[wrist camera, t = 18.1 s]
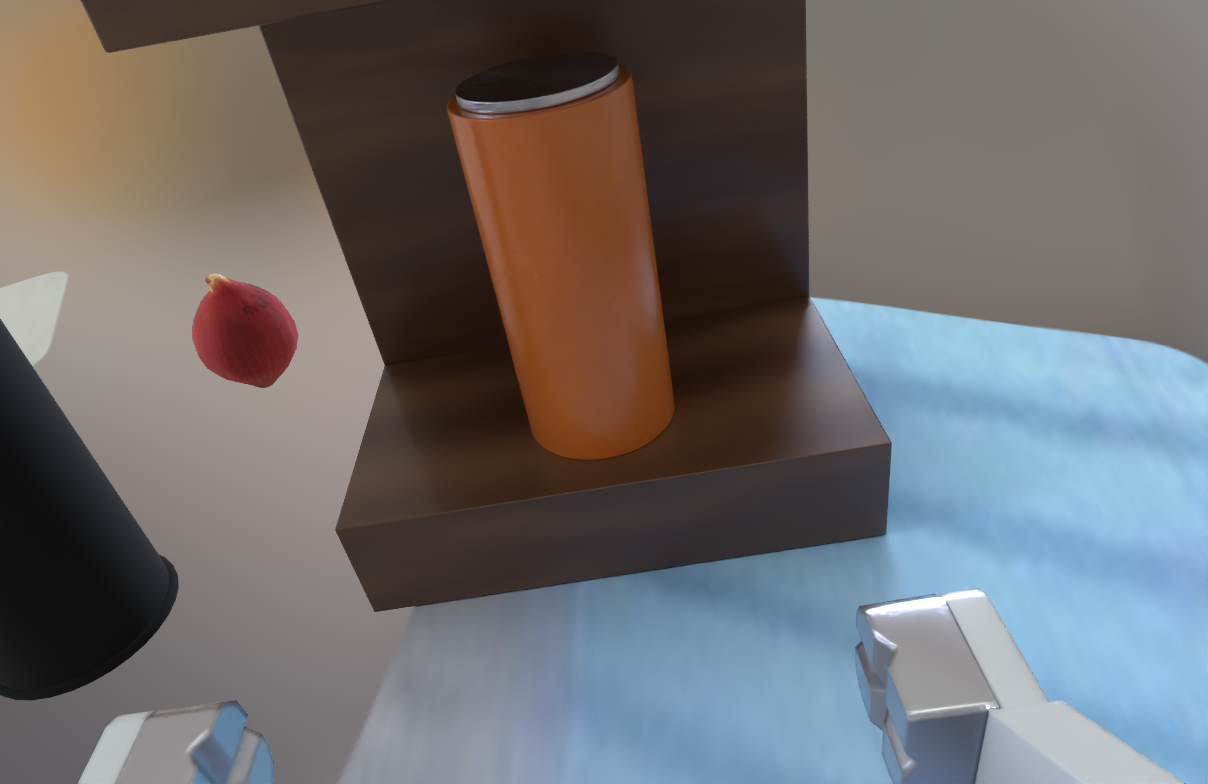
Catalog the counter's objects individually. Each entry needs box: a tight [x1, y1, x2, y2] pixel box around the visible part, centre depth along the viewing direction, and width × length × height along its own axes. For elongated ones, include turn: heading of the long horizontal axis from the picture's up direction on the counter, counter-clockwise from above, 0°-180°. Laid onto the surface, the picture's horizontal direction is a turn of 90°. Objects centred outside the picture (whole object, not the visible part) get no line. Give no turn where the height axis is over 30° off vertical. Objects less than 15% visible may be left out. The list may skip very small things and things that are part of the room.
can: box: [447, 52, 675, 460], centre depth 32 cm, size 6×6×14 cm
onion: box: [192, 274, 298, 388], centre depth 50 cm, size 6×6×8 cm
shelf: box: [81, 0, 892, 612], centre depth 33 cm, size 13×22×24 cm, turn 93°
